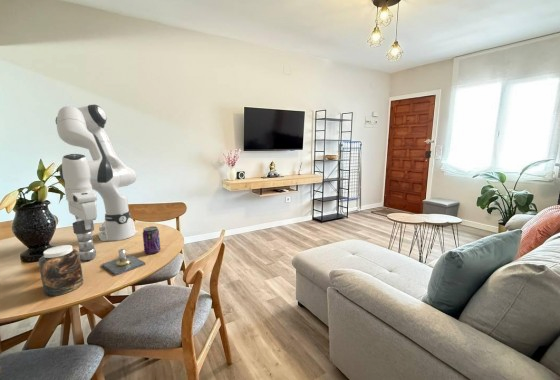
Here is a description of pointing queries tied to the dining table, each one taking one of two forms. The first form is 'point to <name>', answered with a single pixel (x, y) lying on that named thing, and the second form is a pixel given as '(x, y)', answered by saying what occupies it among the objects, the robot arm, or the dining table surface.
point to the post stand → (123, 263)
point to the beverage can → (151, 240)
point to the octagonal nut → (81, 227)
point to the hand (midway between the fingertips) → (84, 227)
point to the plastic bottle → (86, 246)
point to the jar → (60, 270)
